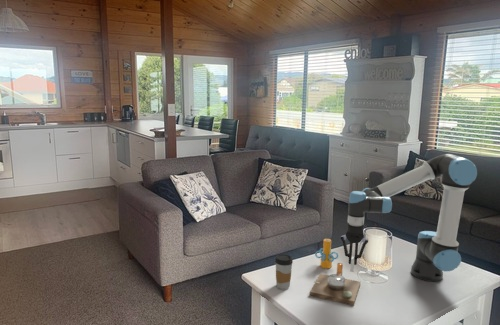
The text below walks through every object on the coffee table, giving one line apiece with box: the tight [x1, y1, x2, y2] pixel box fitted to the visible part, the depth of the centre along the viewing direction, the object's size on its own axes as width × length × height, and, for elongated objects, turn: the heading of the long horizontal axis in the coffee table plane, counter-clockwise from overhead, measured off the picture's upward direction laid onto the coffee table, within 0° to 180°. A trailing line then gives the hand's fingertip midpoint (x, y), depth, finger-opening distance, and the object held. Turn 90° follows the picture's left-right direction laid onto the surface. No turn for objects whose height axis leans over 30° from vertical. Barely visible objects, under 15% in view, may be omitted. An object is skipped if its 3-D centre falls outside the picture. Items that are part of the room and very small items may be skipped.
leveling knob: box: [327, 262, 346, 290], centre depth 185 cm, size 13×8×8 cm, turn 157°
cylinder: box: [314, 238, 339, 269], centre depth 208 cm, size 12×10×15 cm
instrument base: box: [309, 273, 361, 306], centre depth 184 cm, size 20×20×4 cm
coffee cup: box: [274, 253, 293, 290], centre depth 186 cm, size 8×8×15 cm
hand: (352, 270), depth 188 cm, fingers closed
